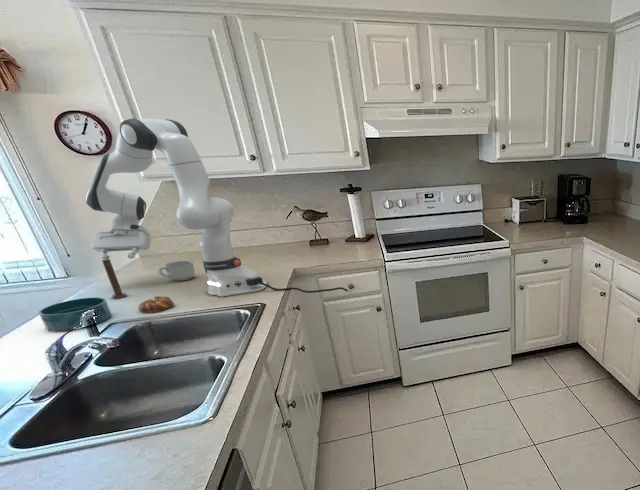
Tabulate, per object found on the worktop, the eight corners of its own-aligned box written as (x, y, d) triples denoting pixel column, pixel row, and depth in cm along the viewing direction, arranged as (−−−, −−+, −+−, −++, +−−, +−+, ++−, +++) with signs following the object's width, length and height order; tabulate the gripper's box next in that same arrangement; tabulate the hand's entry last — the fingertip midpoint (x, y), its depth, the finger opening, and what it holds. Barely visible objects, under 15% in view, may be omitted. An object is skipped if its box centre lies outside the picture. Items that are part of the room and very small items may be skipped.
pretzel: (141, 306, 163) (138, 297, 162) (175, 300, 169) (172, 292, 168) (138, 316, 154) (135, 306, 153) (174, 309, 160) (171, 300, 159)
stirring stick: (128, 294, 176) (115, 258, 170) (123, 298, 172) (109, 260, 166) (115, 295, 175) (101, 259, 169) (110, 299, 171) (96, 261, 165)
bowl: (120, 310, 159) (114, 295, 157) (98, 328, 144) (91, 311, 142) (64, 316, 154) (57, 300, 151) (34, 335, 139) (26, 317, 136)
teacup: (193, 274, 203) (188, 258, 200) (200, 278, 197) (195, 262, 194) (158, 281, 193) (153, 264, 190) (165, 285, 187) (159, 269, 184)
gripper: (91, 227, 175) (83, 256, 170) (145, 225, 179) (140, 253, 173) (102, 236, 180) (95, 263, 175) (154, 234, 184) (149, 260, 179)
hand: (118, 258), depth 174 cm, fingers open, 8 cm apart
